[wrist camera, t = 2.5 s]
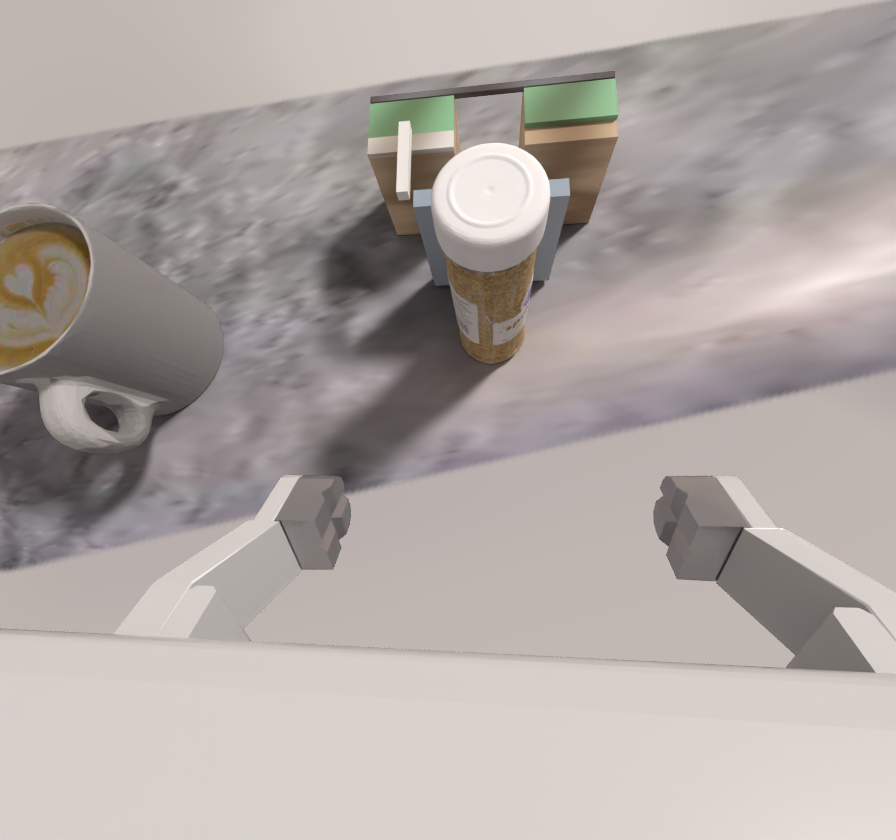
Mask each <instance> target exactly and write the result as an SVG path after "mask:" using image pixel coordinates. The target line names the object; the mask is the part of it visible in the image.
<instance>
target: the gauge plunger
mask: <svg viewBox="0 0 896 840" xmlns="http://www.w3.org/2000/svg"><path fill="white" fill-rule="evenodd" d="M411 147H412V129H411V124H410V121H401V122H399V127H398V154H397V180H396V193H397V197H398V200H410V179H411ZM549 184H550V204H549V211H548V217H547V222H546V227H545V231H544V234H543V237H542V239H541V241H540V243H539V245H538V246H537V251H536V257H535V263H534V269H533V270H534V274H533V281H540V280H549V276H550V273H551V269H552V265H553V261H554V257H555V253H556V249H557V245H558V241H559V237H560V233H561V229H562V225H563V221H564V217H565V213H566V210H567V206H568V202H569V198H570V185H569V178H565V179H552V180H549ZM431 193H432V189H425V190H414V196H413V208H414V212H415V215H416V219H417V223H418V226H419V230H420V233H421V237H422V240H423V244H424V248H425V251H426V255H427V258H428V262H429V265H430V269H431V273H432V276H433V280H434V283H435V286H441V285H450V284H449V280H448V275H447V264H446V258H445V254H444V252H443V250H442V248H441V246H440V245H439V242H438V240H437V236H436V232H435V228H434V222H433V217H432V211H431Z"/></svg>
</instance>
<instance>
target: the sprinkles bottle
mask: <svg viewBox="0 0 896 840" xmlns="http://www.w3.org/2000/svg"><path fill="white" fill-rule="evenodd" d="M549 204H550V184H549V180H548V177H547V175H546V172H545V170H544V169H543V167H542V166H541V164H540V163H539V162H538V161H537V160H536V159H535V158H534V157H533V156H532V155H531V154H529V153H528V152H526V151H524V150H522V149H520V148H518V147H515V146H512V145H508V144H503V143H489V144H482V145H477V146H474V147H471V148H469V149H466V150H464V151H462V152H460V153H459V154H457V155H456V156H454V157H453V158H452V159H451V160H450V161H448V163H447V164H446V165H445V166H444V167H443V168H442V169H441V171H440V172H439V174H438V176H437V178H436V180H435V182H434V185H433V188H432V193H431V211H432V217H433V222H434V228H435V232H436V236H437V240H438V242H439V245H440V246H441V248H442V250H443V252H444V254H445V258H446V264H447V275H448V280H449V284H450V289H451V294H452V299H453V303H454V308H455V313H456V318H457V322H458V325H459V327H460V339H461V343H462V346H463V347H464V349H465V350H466V352H467V353H468V354H469V355H470V356H471V357H473V358H474V359H476V360H478V361H481V362H484V363H488V364H491V363H499V362H502V361H504V360H507V359H509V358H510V357H512V356H513V355H514V354H515V353H516V352H517V351H518V350H519V348H520V346H521V345H522V343H523V341H524V336H525V326H524V325H525V321H526V318H527V313H528V306H529V300H530V294H531V287H532V282H533V274H534V270H533V269H534V263H535V257H536V251H537V246H538V245H539V243H540V241H541V239H542V237H543V234H544V231H545V227H546V222H547V217H548V211H549Z"/></svg>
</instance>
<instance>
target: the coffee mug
mask: <svg viewBox="0 0 896 840" xmlns="http://www.w3.org/2000/svg"><path fill="white" fill-rule="evenodd" d="M223 346H224V345H223V333H222V329H221V325H220V323H219V321H218V318H217V316H216V315H215V313H214V312H213V310H212V309H211V308H210V307H209V306H208V305H207V304H206V303H204V302H203V301H201V300H200V299H198V298H197V297H195V296H194V295H192V294H191V293H189V292H188V291H186V290H185V289H183V288H182V287H180V286H179V285H177V284H176V283H174V282H173V281H171V280H170V279H168V278H167V277H165V276H164V275H162V274H161V273H159V272H158V271H156V270H155V269H153V268H152V267H150V266H149V265H147V264H146V263H144V262H143V261H141V260H140V259H138V258H137V257H135V256H134V255H132V254H131V253H129V252H128V251H126V250H125V249H123V248H122V247H120V246H119V245H117V244H116V243H114V242H113V241H111V240H110V239H109V238H107V237H106V236H104V235H103V234H101V233H100V232H98V231H97V230H95V229H94V228H92V227H91V226H89V225H88V224H86V223H85V222H83V221H82V220H80V219H79V218H77V217H75V216H74V215H72V214H71V213H69V212H66V211H64V210H62V209H60V208H58V207H55V206H52V205H48V204H38V203H27V204H20V205H16V206H11V207H8V208H5V209H2V210H0V383H2V384H7V385H11V386H16V387H20V388H24V389H29V390H33V391H38V392H39V400H40V410H41V417H42V420H43V422H44V425H45V427H46V428H47V430H48V431H49V432H50V434H51V435H52V436H53V437H54V438H55V439H56V440H58V441H59V442H60V443H61V444H63V445H66V446H68V447H71V448H73V449H75V450H78V451H82V452H87V453H94V454H113V453H119V452H124V451H128V450H131V449H133V448H136V447H138V446H139V445H140V444H142V443H143V442H144V440H145V439H146V438H147V437H148V434H149V432H150V430H151V425H152V420H153V416H160V415H166V414H170V413H173V412H176V411H178V410H180V409H182V408H184V407H185V406H187V405H189V404H191V403H192V402H193V401H195V400H196V399H197V398H198V397H199V396H200V395H201V394H202V393H203V392H204V391H205V390H206V388H207V387H208V386H209V385H210V383H211V382H212V380H213V378H214V377H215V375H216V373H217V370H218V368H219V365H220V363H221V359H222V354H223ZM85 402H86V403H91V404H95V405H99V406H104V407H107V408H108V409H110V410H111V411H113V413H114V414H115V416H116V418H117V419H118V424H119V429H118V431H117V432H114V431H109V430H106V429H104V428H102V427H100V426H98V425H96V424H95V423H94V422H93V421H92V420H91V419H90V417H89V415H88V413H87V411H86V409H85Z"/></svg>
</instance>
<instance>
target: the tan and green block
mask: <svg viewBox="0 0 896 840" xmlns="http://www.w3.org/2000/svg"><path fill="white" fill-rule="evenodd" d="M516 92H523V96H522V110H521V124H520V138H519V148H520V149H522V150H524V151H526V152H528V153H529V154H531V155H532V156H533V157H534V158H535V159H536V160H537V161H538V162H539V163H540V164H541V166H542V167H543V169H544V170H545V172H546V175H547V177H548V180H552V179H565V178H569V185H570V198H569V202H568V206H567V210H566V213H565V217H564V221H563V224H576V223H588V222H589V219H590V216H591V213H592V211H593V208H594V205H595V202H596V199H597V196H598V193H599V190H600V187H601V185H602V182H603V179H604V176H605V173H606V170H607V167H608V164H609V161H610V159H611V156H612V153H613V150H614V147H615V144H616V141H617V138H618V130H617V117H618V105H617V93H616V81H615V71H610V72H600V73H591V74H582V75H572V76H563V77H553V78H544V79H535V80H525V81H516V82H507V83H497V84H488V85H478V86H469V87H460V88H450V89H441V90H431V91H422V92H413V93H403V94H394V95H385V96H375V97H371V100H370V103H371V104H370V119H369V137H368V157H369V160H370V162H371V165H372V168H373V171H374V173H375V176H376V179H377V181H378V184H379V187H380V189H381V192H382V195H383V198H384V200H385V203H386V206H387V208H388V211H389V214H390V216H391V219H392V222H393V225H394V227H395V230H396V233H397V235H409V234H421V233H420V230H419V226H418V223H417V219H416V215H415V212H414V208H413V196H414V190H425V189H432V188H433V185H434V182H435V180H436V178H437V176H438V174H439V172H440V171H441V169H442V168H443V167H444V166H445V165H446V164H447V163H448V161H450V160H451V159H452V158H453V157H454V156H456V155H457V154H459V153H460V144H459V134H458V124H457V114H456V103H455V99H458V98H467V97H477V96H487V95H496V94H506V93H516ZM401 121H410V124H411V129H412V147H411V179H410V200H398V197H397V193H396V180H397V154H398V127H399V122H401Z"/></svg>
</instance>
